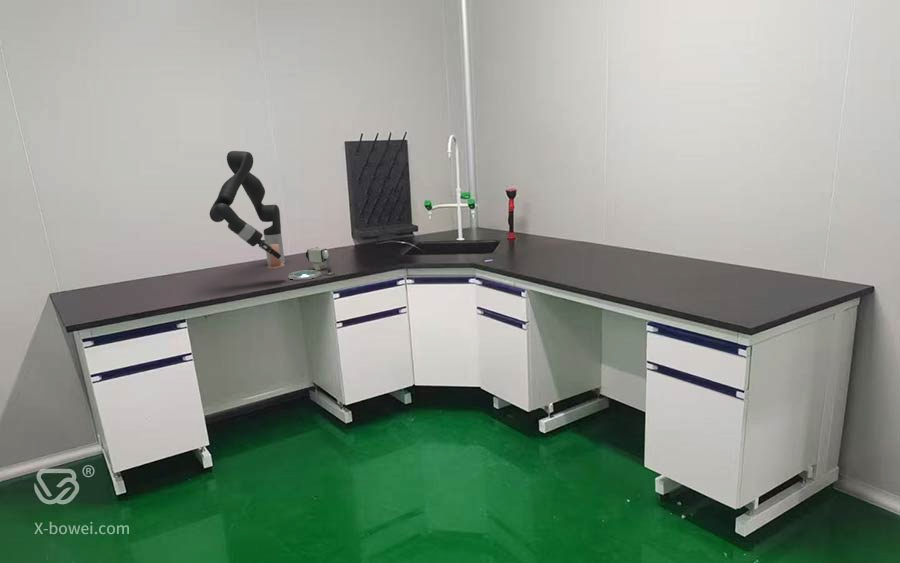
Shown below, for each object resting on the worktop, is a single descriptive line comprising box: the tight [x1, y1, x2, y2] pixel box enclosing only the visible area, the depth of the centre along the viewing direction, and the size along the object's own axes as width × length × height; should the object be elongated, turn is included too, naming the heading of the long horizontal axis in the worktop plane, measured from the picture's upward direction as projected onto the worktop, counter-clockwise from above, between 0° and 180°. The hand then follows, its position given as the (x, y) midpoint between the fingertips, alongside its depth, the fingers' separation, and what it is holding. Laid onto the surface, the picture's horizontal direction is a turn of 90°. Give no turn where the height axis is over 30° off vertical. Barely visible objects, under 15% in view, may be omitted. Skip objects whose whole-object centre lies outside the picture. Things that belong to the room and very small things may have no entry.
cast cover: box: [267, 244, 286, 270], centre depth 278 cm, size 8×8×11 cm
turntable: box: [287, 269, 322, 281], centre depth 290 cm, size 16×16×2 cm
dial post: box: [322, 249, 335, 276], centre depth 291 cm, size 4×4×13 cm
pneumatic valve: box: [305, 246, 328, 271], centre depth 303 cm, size 6×12×12 cm, turn 69°
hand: (278, 256), depth 279 cm, fingers closed on cast cover, 4 cm apart
